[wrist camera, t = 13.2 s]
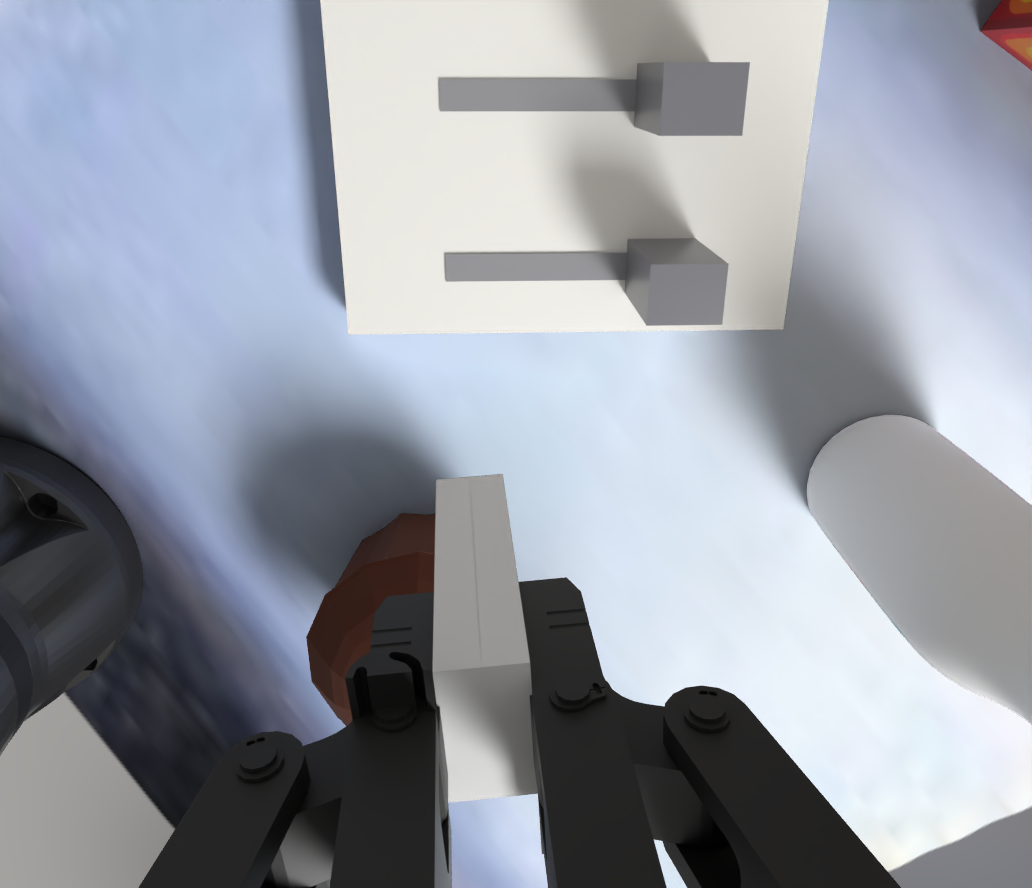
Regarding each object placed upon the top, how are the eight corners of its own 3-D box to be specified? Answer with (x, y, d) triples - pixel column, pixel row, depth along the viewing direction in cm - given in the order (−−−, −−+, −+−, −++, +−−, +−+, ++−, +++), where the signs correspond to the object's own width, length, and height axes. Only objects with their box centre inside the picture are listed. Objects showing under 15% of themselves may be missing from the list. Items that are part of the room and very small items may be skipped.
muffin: (320, 487, 44) (279, 597, 34) (531, 483, 44) (545, 591, 35) (340, 668, 48) (308, 807, 39) (529, 663, 49) (541, 799, 40)
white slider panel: (355, 319, 40) (329, 373, 33) (314, -191, 32) (268, -266, 25) (766, 314, 41) (827, 366, 34) (829, -184, 33) (928, -254, 25)
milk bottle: (772, 482, 45) (977, 766, 26) (887, 381, 42) (1196, 614, 24) (860, 562, 47) (1103, 874, 29) (973, 470, 45) (1313, 744, 27)
